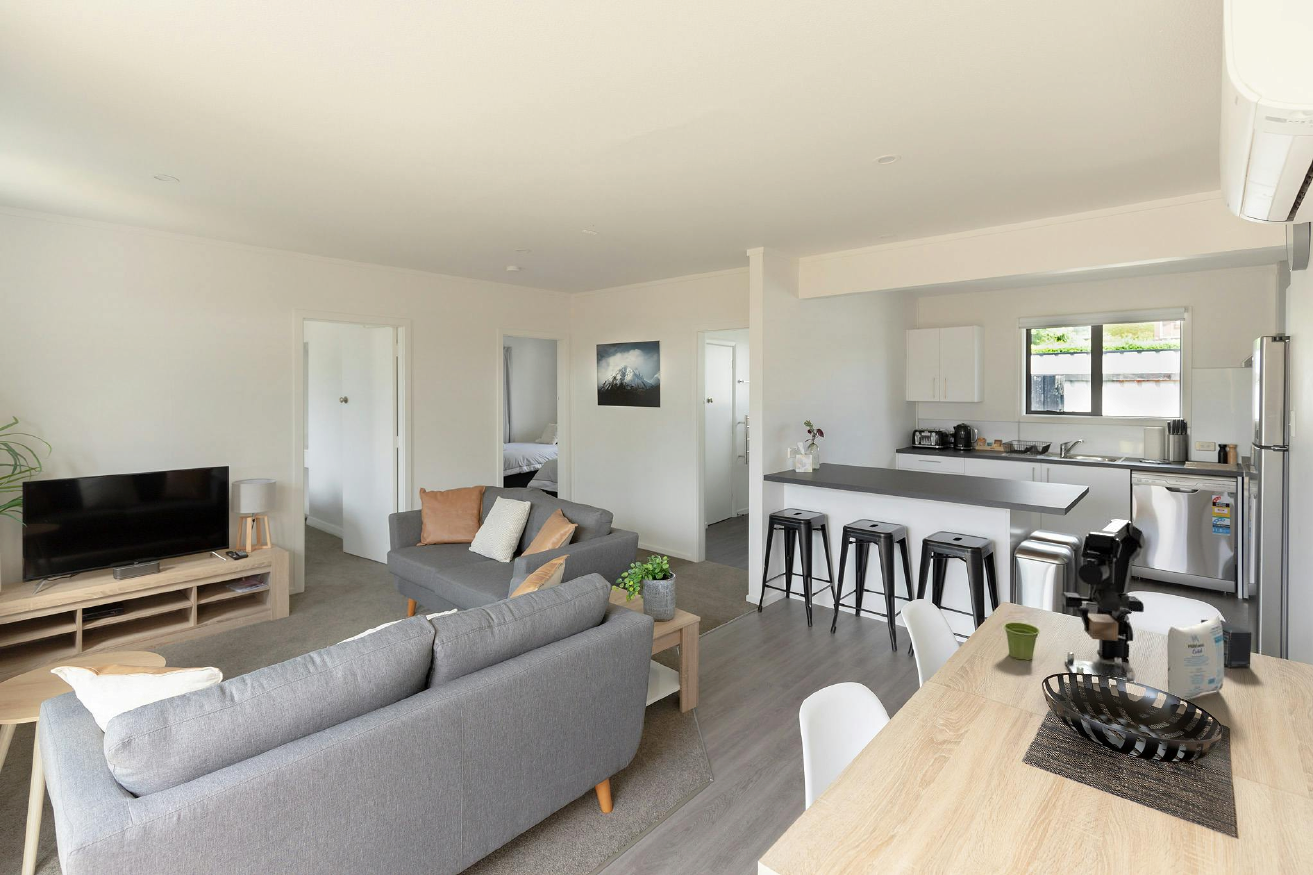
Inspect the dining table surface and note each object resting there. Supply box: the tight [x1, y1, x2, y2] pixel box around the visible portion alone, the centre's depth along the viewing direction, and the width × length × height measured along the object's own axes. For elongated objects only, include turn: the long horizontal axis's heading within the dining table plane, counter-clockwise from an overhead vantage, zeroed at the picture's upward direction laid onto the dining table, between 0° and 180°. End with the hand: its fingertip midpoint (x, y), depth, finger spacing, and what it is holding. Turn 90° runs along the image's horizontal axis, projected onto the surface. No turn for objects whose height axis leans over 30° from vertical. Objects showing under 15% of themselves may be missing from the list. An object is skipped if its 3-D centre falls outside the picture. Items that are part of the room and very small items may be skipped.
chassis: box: [1064, 651, 1137, 684], centre depth 182 cm, size 14×13×3 cm
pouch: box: [1166, 615, 1225, 701], centre depth 167 cm, size 8×19×20 cm, turn 107°
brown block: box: [1083, 612, 1118, 641], centre depth 185 cm, size 6×7×5 cm
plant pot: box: [1003, 622, 1040, 661], centre depth 196 cm, size 9×9×9 cm
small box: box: [1200, 619, 1253, 669], centre depth 189 cm, size 11×6×10 cm, turn 179°
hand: (1100, 631), depth 185 cm, fingers closed on brown block, 6 cm apart
